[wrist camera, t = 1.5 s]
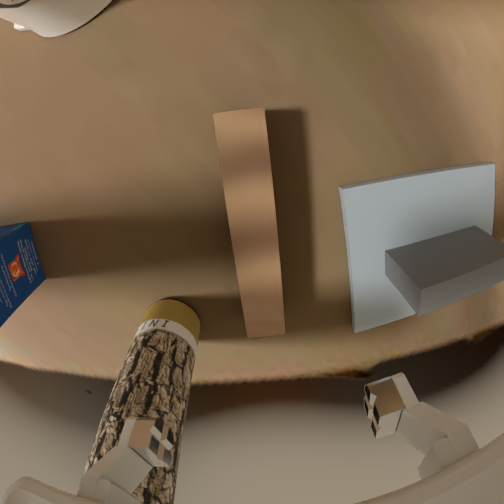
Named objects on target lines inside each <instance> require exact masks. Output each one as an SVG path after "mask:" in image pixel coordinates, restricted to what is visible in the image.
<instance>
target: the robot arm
mask: <svg viewBox="0 0 504 504" xmlns="http://www.w3.org/2000/svg"><path fill="white" fill-rule="evenodd" d="M111 1H112V0H0V17H1V18H3V19H6V20H8V21H11V22H13V23H14V28H15V29H17V30H20V31H25V30H32V31H34V32H35V33H37V34H38V35H41V36H44V37H55V36H60V35H63V34H66V33H68V32H70V31H73V30H75V29H77V28H78V27H80V26H82V25H83V24H85V23H86V22H88V21H89V20H91V19H92V18H93V17H95V16H96V15H97V14H98V13H99V12H101V11H102V10H103V9H104V8H105V7H106V6H107V5H108V4H109V3H110V2H111ZM365 392H366V395H365V396H364V405H365V410H366V414H367V416H368V418H370V419H371V420H372V422H371V428H372V431H373V434H374V437H375V439H378V438H381V437H384V436H387V435H390V434H393V433H395V434H397V435H398V436H399V437H401V438H402V439H404V440H405V441H406V442H408V443H409V444H410V445H412V446H413V447H415V448H416V449H417V450H419V451H420V452H422V453H423V454H424V455H426V456H425V457H424V459H423V461H422V462H421V464H420V465H419V467H418V471H419V474H420V477H421V480H420V481H418V482H416V483H413V484H411V485H408V486H406V487H403V488H401V489H398V490H395V491H393V492H390V493H387V494H384V495H381V496H378V497H375V498H372V499H369V500H366V501H362V502H359V503H355V504H504V433H503V434H501V435H500V436H499V437H497V438H496V439H494V440H493V441H491V442H490V443H488V444H487V445H485V446H484V447H482V448H481V449H479V447H478V445H477V443H476V441H475V439H474V437H473V435H472V433H471V431H470V430H469V427H468V426H467V424H465V423H463V422H461V421H459V420H457V419H455V418H453V417H451V416H449V415H447V414H445V413H443V412H441V411H439V410H437V409H436V408H433V407H432V406H429V405H428V404H426V403H424V402H420V403H419V402H418V400H417V398H416V396H415V394H414V392H413V390H412V388H411V386H410V384H409V383H408V381H407V379H406V377H405V375H404V374H403V373H398V374H396V375H393V376H391V377H387V378H384V379H381V380H378V381H375V382H372V383H369V384H366V386H365ZM173 445H174V435H173V432H172V430H171V429H170V428H169V427H168V426H166V425H164V421H163V420H162V418H161V417H128V418H127V419H126V421H125V424H124V427H123V430H122V434H121V437H120V440H119V443H118V446H114V447H113V448H112V449H111V450H110V451H109V452H108V453H107V454H106V455H104V456H103V457H102V458H101V459H100V460H99V461H98V462H97V463H96V464H94V465H93V466H92V467H91V468H90V469H89V470H88V471H86V472H85V473H84V475H83V478H82V481H81V484H80V488H79V491H78V495H77V496H76V495H72V494H70V493H67V492H64V491H62V490H59V489H57V488H54V487H51V486H49V485H47V484H44V483H42V482H40V481H38V480H36V479H33V478H31V477H28V476H25V477H22V478H20V479H19V480H17V481H16V482H14V483H13V484H11V485H10V486H9V487H7V489H6V490H5V491H4V493H3V494H2V497H1V498H0V504H140V501H139V499H137V498H135V497H134V496H132V495H131V494H132V493H133V491H134V490H135V489H136V488H137V486H138V485H139V484H140V483H141V481H142V480H143V479H144V478H145V477H146V475H147V474H148V473H149V471H150V470H151V469H152V468H153V467H152V466H156V467H170V462H171V457H172V454H171V452H170V451H169V450H170V449H171V448H172V447H173Z"/></svg>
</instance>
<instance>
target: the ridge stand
mask: <svg viewBox="0 0 504 504" xmlns="http://www.w3.org/2000/svg"><path fill="white" fill-rule="evenodd" d="M339 193H340V199H341V206H342V214H343V221H344V229H345V238H346V247H347V256H348V267H349V279H350V293H351V309H352V328H353V330H354V332H355V333H357V332H361V331H364V330H368V329H371V328H374V327H378V326H381V325H384V324H387V323H390V322H393V321H396V320H399V319H402V318H405V317H408V316H411V315H414V314H417V315H418V316H421V315H424V314H426V313H429V312H432V311H434V310H437V309H439V308H442V307H445V306H447V305H449V304H452V303H454V302H457V301H459V300H462V299H464V298H466V297H469V296H471V295H473V294H475V293H478V292H480V291H482V290H484V289H486V288H488V287H491V286H493V285H495V284H497V283H499V282H501V281H503V280H504V243H502V242H501V241H499V240H498V239H496V238H495V237H493V236H492V231H493V219H494V203H495V164H494V163H490V162H485V163H477V164H469V165H462V166H455V167H448V168H441V169H435V170H428V171H422V172H416V173H410V174H404V175H398V176H393V177H387V178H381V179H376V180H371V181H365V182H360V183H355V184H350V185H345V186H340V187H339Z"/></svg>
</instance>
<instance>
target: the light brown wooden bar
mask: <svg viewBox="0 0 504 504" xmlns="http://www.w3.org/2000/svg"><path fill="white" fill-rule="evenodd" d="M213 118H214V125H215V133H216V140H217V147H218V154H219V161H220V168H221V175H222V182H223V188H224V195H225V202H226V208H227V215H228V222H229V228H230V234H231V241H232V247H233V253H234V260H235V266H236V272H237V278H238V284H239V290H240V296H241V302H242V308H243V314H244V320H245V326H246V332H247V337H248V338H257V337H267V336H275V335H283V334H285V320H284V306H283V293H282V280H281V267H280V255H279V244H278V233H277V222H276V211H275V201H274V191H273V181H272V172H271V162H270V153H269V144H268V136H267V127H266V119H265V110H264V107H262V108H252V109H243V110H235V111H228V112H221V113H214V114H213Z"/></svg>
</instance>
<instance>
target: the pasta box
mask: <svg viewBox="0 0 504 504" xmlns="http://www.w3.org/2000/svg"><path fill="white" fill-rule="evenodd" d="M45 279H46V278H45V275H44V272H43V269H42V266H41V263H40V260H39V257H38V253H37V250H36V247H35V243H34V239H33V236H32V232H31V228H30V224H29V222H25V223H19V224H13V225H7V226H2V227H0V327H1V326H2V325H3V324H4V322H5V321H6V320H7V319H8V318H9V317H10V316H11V315H12V313H13V312H14V311H15V310H16V309H17V308H18V307H19V306H20V305H21V304H22V303H23V302H24V301H25V299H26V298H27V297H28V296H29V295H30V294H31V293H32V292H33V291H34V290H35V289H36V288H37V287H38V286H39V285H40V284H41V283H42V282H43V281H44V280H45Z"/></svg>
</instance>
